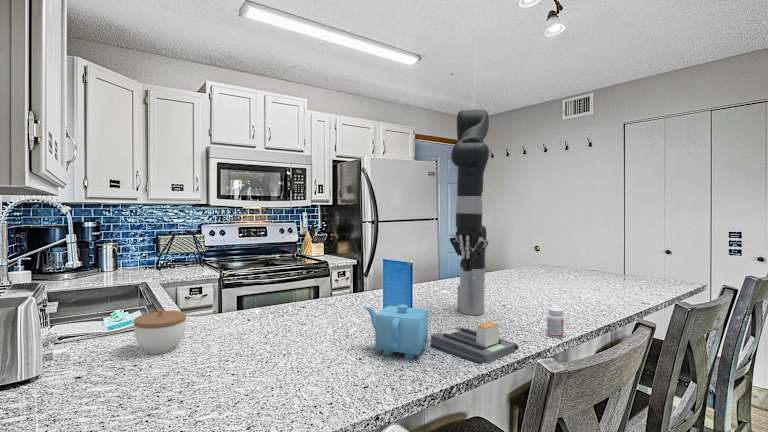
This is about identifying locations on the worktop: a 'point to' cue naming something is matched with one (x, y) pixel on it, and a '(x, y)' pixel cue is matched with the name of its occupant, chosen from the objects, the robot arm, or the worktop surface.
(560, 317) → the pill bottle
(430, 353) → the worktop surface
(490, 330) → the grey orange rectangular block
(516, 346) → the dark grey rod
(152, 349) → the lidded bowl
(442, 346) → the cord
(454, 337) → the panel
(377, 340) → the teapot
